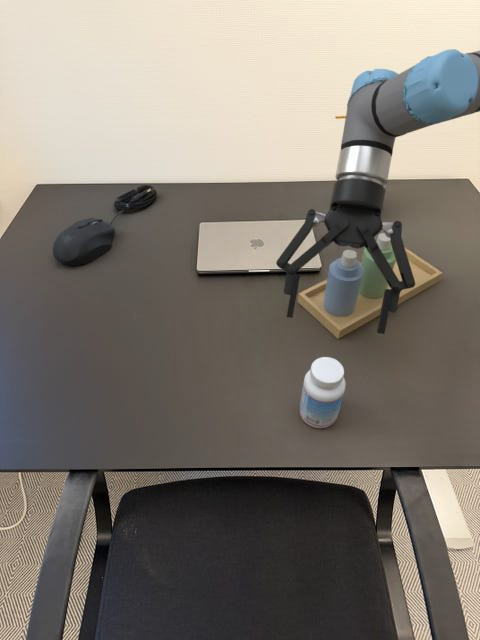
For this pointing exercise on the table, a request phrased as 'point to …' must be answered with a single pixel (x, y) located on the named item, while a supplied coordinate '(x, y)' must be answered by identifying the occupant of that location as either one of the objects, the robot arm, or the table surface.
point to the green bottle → (376, 270)
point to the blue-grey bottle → (343, 285)
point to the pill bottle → (322, 392)
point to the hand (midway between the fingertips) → (334, 325)
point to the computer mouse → (96, 230)
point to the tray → (365, 306)
